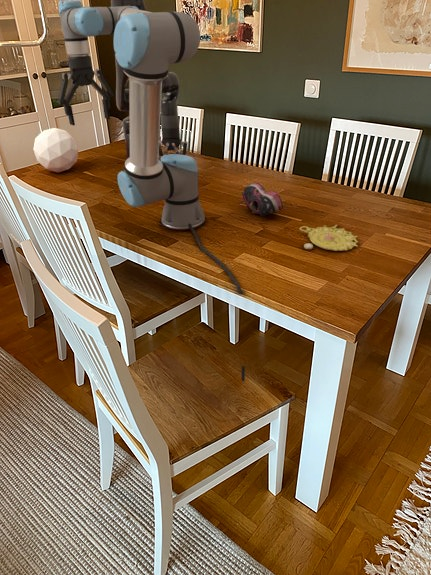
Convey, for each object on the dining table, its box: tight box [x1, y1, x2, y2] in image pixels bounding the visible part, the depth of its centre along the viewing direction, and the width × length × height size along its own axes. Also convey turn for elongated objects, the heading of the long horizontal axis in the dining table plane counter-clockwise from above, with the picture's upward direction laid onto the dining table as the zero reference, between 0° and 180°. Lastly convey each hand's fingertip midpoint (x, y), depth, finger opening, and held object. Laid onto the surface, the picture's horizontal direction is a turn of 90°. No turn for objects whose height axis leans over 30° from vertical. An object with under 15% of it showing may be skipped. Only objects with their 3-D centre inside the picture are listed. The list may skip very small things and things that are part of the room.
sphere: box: [32, 127, 79, 173], centre depth 205 cm, size 19×20×20 cm
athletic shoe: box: [238, 182, 284, 217], centre depth 160 cm, size 11×22×12 cm
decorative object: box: [299, 224, 359, 252], centre depth 141 cm, size 21×2×20 cm
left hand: (173, 165), depth 194 cm, fingers closed on bar, 5 cm apart
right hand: (90, 121), depth 159 cm, fingers open, 13 cm apart
